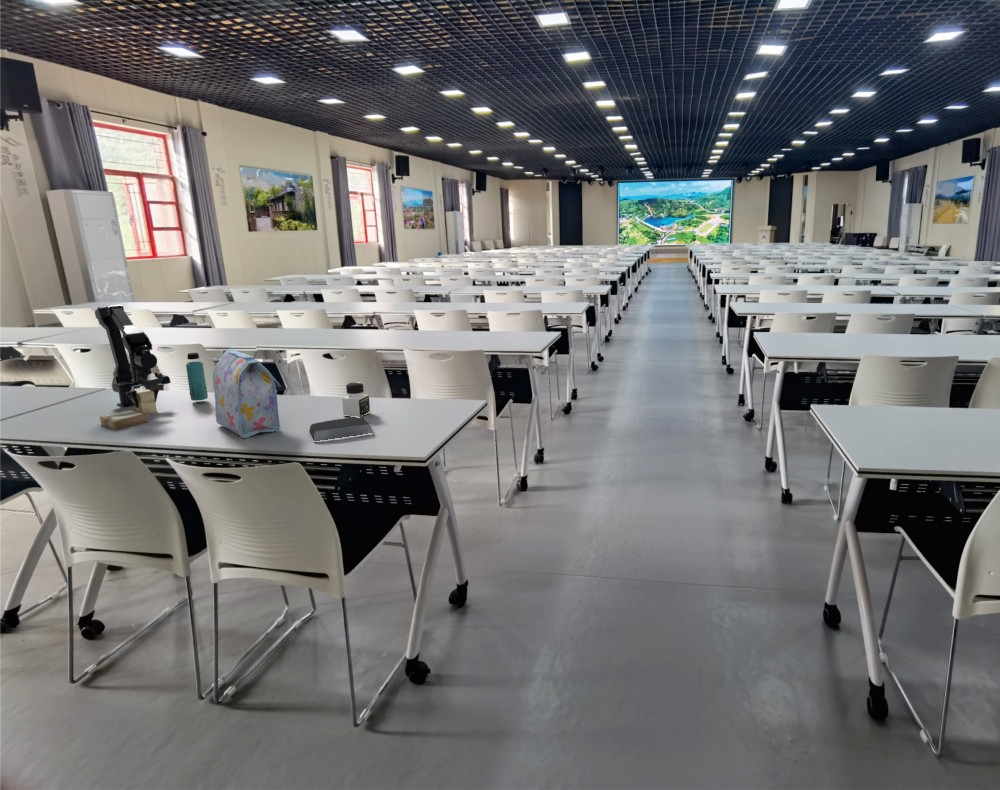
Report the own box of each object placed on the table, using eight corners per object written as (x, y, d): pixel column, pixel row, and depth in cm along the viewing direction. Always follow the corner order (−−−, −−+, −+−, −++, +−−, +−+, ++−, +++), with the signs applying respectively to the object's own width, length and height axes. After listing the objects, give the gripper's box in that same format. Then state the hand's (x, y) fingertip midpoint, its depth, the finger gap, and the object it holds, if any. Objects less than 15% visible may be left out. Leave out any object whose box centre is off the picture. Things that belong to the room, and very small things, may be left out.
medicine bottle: (360, 418, 234) (358, 386, 231) (343, 416, 236) (340, 384, 233) (370, 413, 241) (368, 381, 238) (353, 411, 243) (351, 380, 240)
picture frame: (101, 424, 232) (99, 416, 232) (132, 417, 241) (131, 408, 240) (116, 429, 226) (114, 420, 225) (147, 421, 235) (146, 413, 234)
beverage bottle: (211, 400, 263) (205, 351, 258) (203, 404, 257) (196, 354, 252) (196, 400, 264) (189, 351, 259) (187, 404, 257) (180, 354, 252)
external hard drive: (374, 436, 215) (373, 424, 214) (314, 445, 208) (313, 432, 207) (366, 426, 227) (365, 414, 226) (308, 433, 219) (307, 422, 218)
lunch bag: (289, 429, 223) (281, 353, 216) (241, 441, 211) (231, 361, 205) (260, 417, 238) (252, 345, 232) (213, 427, 227) (203, 352, 220)
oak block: (137, 412, 247) (133, 392, 245) (150, 409, 251) (146, 389, 249) (143, 414, 244) (140, 394, 242) (156, 411, 248) (153, 391, 246)
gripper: (124, 372, 231) (131, 414, 235) (175, 363, 246) (181, 403, 250) (109, 369, 237) (116, 410, 241) (159, 360, 252) (165, 399, 256)
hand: (145, 405), depth 247 cm, fingers open, 6 cm apart
